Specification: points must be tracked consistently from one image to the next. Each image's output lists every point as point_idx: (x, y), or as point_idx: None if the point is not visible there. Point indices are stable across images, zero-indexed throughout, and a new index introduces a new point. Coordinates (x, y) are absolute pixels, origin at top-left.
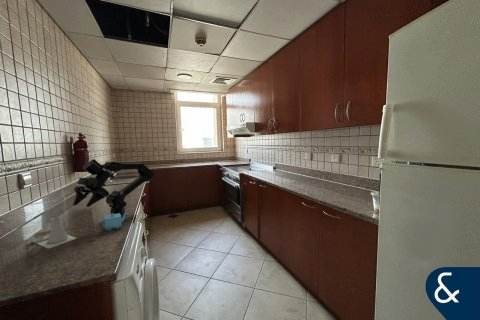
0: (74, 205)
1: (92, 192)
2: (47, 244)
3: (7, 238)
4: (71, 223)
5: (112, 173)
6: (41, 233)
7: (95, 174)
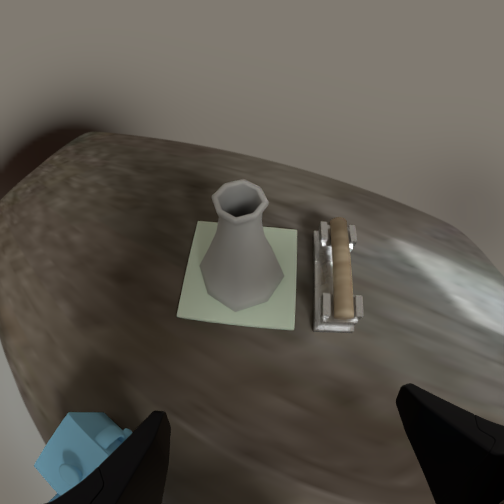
0: (401, 395)
1: None
2: None
3: (451, 229)
4: None
5: None
6: (332, 237)
7: None
